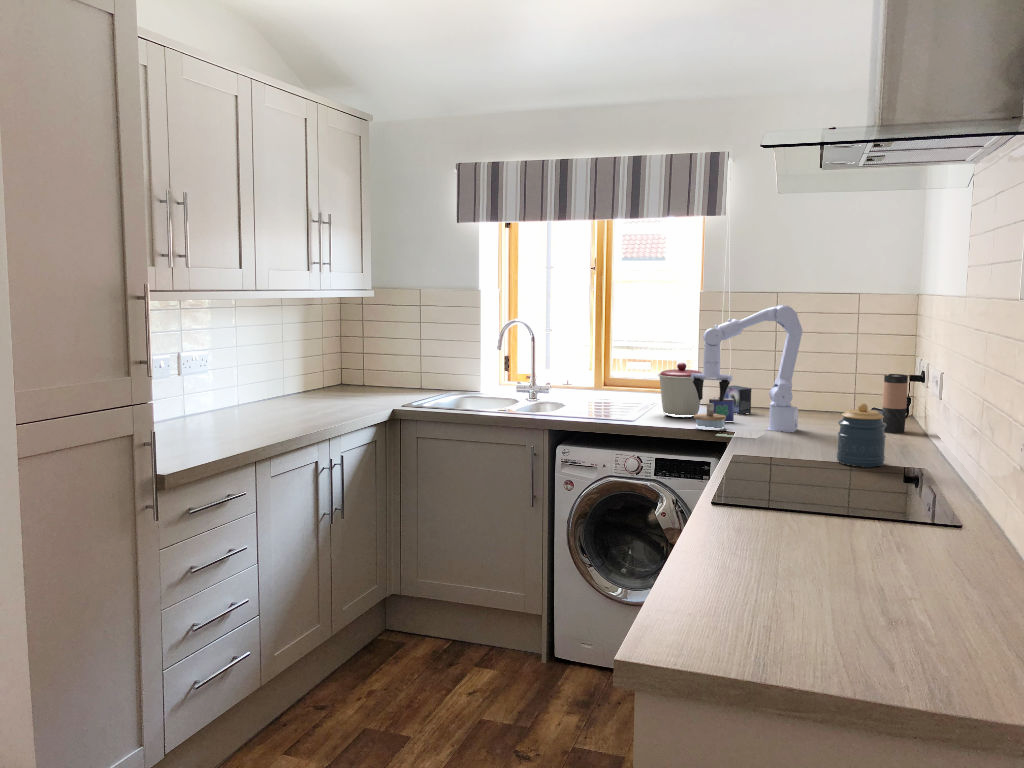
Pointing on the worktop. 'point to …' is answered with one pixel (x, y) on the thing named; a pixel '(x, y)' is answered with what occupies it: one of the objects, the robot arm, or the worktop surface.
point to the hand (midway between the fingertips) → (710, 400)
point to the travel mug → (895, 402)
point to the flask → (724, 407)
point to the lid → (710, 414)
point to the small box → (739, 398)
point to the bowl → (710, 423)
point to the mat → (724, 435)
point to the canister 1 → (679, 391)
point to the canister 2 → (861, 437)
